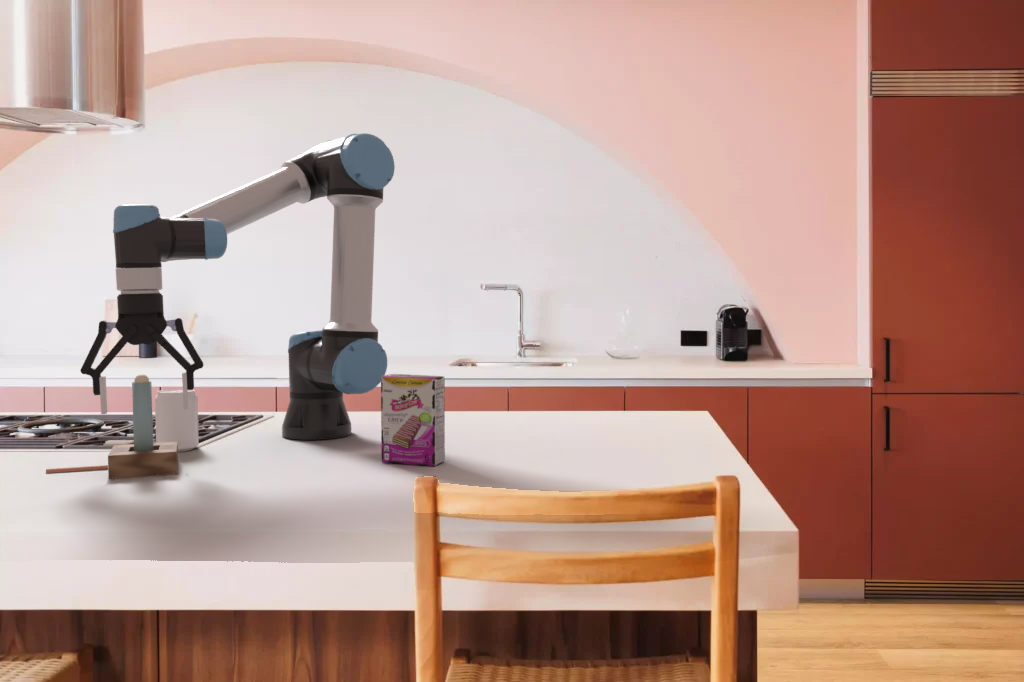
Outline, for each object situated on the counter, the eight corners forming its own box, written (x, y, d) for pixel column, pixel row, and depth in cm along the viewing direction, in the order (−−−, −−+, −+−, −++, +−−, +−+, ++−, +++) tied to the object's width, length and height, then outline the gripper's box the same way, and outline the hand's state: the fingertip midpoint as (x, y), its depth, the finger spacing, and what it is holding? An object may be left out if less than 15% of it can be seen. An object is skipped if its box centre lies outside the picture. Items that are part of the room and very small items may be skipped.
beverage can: (184, 453, 176) (182, 393, 176) (147, 452, 178) (146, 392, 177) (206, 446, 184) (204, 388, 184) (171, 445, 186) (169, 388, 185)
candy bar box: (380, 463, 165) (379, 375, 164) (392, 458, 170) (391, 373, 169) (435, 467, 162) (434, 377, 161) (446, 462, 166) (445, 375, 165)
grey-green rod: (154, 468, 162) (151, 373, 161) (153, 471, 159) (150, 374, 158) (135, 469, 161) (132, 373, 160) (134, 472, 158) (131, 375, 157)
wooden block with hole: (178, 462, 167) (177, 441, 167) (176, 474, 156) (176, 451, 156) (114, 466, 163) (113, 445, 163) (108, 478, 153) (107, 455, 153)
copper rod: (108, 468, 162) (107, 465, 162) (107, 469, 161) (107, 465, 161) (46, 472, 159) (46, 468, 159) (46, 473, 158) (45, 469, 158)
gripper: (213, 290, 166) (218, 403, 167) (65, 293, 157) (71, 412, 159) (214, 291, 159) (219, 408, 160) (59, 294, 150) (65, 418, 152)
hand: (145, 410), depth 159 cm, fingers open, 13 cm apart
